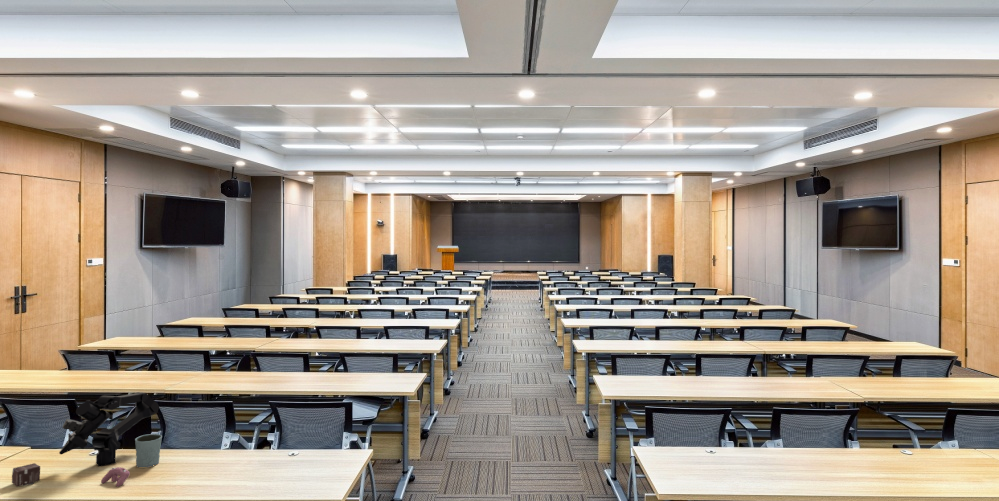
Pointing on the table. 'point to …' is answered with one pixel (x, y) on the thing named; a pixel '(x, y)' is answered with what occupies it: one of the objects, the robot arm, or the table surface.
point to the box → (26, 474)
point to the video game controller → (116, 476)
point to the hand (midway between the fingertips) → (60, 453)
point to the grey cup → (148, 450)
